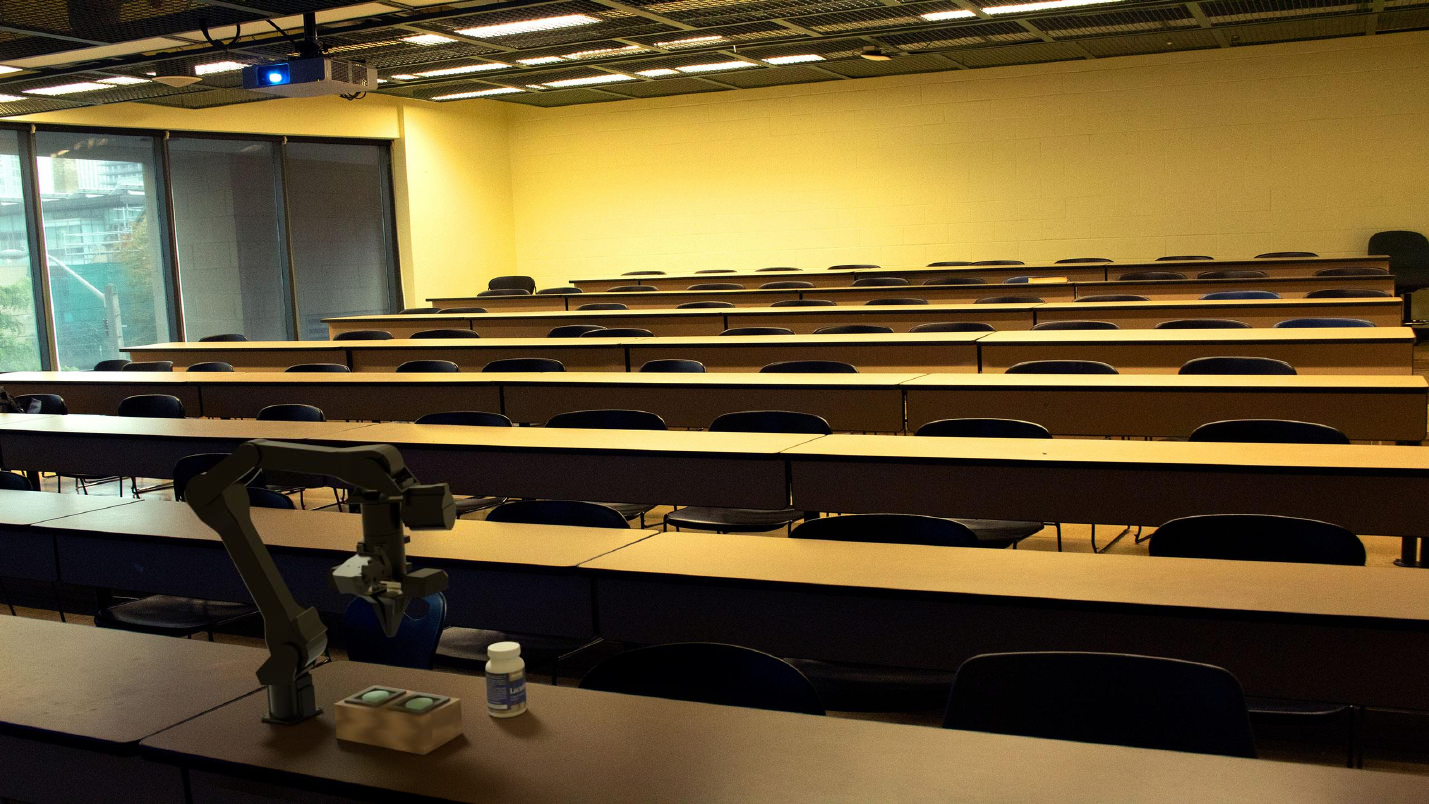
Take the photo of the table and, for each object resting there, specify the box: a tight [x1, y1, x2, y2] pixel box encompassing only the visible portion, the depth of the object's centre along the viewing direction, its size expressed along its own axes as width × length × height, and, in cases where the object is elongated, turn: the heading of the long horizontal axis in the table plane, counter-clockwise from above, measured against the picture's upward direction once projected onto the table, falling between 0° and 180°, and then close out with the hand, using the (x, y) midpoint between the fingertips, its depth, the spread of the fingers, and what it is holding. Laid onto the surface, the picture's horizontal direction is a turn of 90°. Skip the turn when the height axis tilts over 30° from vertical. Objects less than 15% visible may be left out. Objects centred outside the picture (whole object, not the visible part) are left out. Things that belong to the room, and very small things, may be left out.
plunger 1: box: [362, 691, 389, 702], centre depth 161 cm, size 4×4×5 cm
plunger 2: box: [406, 698, 432, 710], centre depth 157 cm, size 4×4×5 cm
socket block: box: [333, 684, 464, 756], centre depth 159 cm, size 16×8×5 cm, turn 63°
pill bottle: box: [485, 641, 528, 719], centre depth 166 cm, size 6×6×10 cm
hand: (391, 636), depth 166 cm, fingers closed
